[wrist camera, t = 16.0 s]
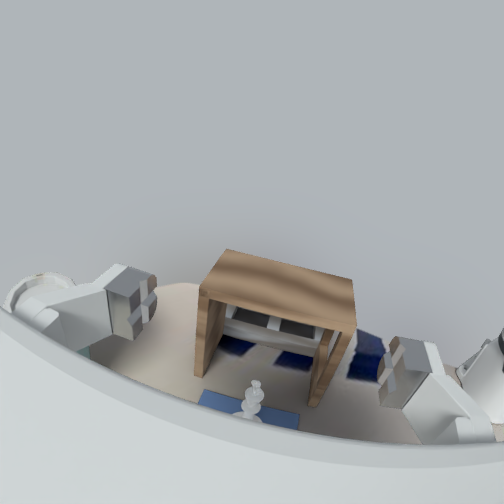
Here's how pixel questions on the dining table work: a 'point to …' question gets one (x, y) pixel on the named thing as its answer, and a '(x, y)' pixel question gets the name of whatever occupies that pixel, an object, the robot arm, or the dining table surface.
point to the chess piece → (252, 402)
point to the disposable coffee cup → (39, 292)
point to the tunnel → (276, 312)
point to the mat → (234, 406)
